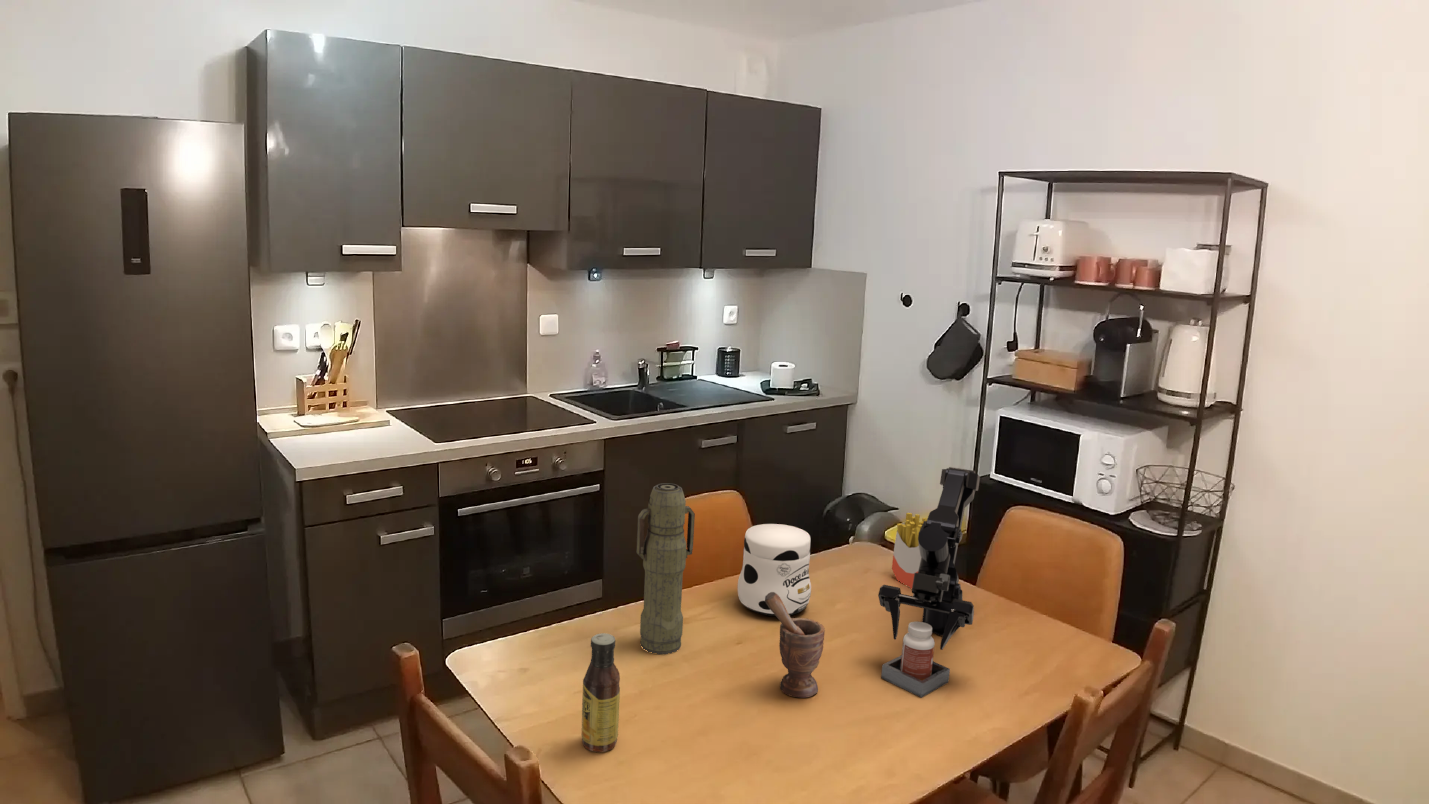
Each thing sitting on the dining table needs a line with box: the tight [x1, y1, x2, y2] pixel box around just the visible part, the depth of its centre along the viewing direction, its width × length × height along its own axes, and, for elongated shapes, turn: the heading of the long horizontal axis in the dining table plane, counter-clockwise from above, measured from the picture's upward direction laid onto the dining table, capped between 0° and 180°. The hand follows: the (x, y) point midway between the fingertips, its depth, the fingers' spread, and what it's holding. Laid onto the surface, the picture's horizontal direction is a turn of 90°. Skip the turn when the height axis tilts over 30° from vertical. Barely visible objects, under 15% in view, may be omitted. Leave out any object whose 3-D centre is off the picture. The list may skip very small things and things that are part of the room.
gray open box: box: [880, 654, 951, 698], centre depth 182 cm, size 10×10×3 cm
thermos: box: [636, 482, 696, 655], centre depth 188 cm, size 9×12×35 cm
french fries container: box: [891, 512, 928, 589], centre depth 231 cm, size 5×11×18 cm, turn 29°
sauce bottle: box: [581, 632, 621, 753], centre depth 152 cm, size 6×6×20 cm
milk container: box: [737, 523, 812, 617], centre depth 212 cm, size 17×17×18 cm
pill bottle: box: [900, 621, 935, 681], centre depth 181 cm, size 6×6×11 cm
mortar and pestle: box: [765, 592, 826, 698], centre depth 174 cm, size 12×9×20 cm
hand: (917, 643), depth 180 cm, fingers open, 9 cm apart
